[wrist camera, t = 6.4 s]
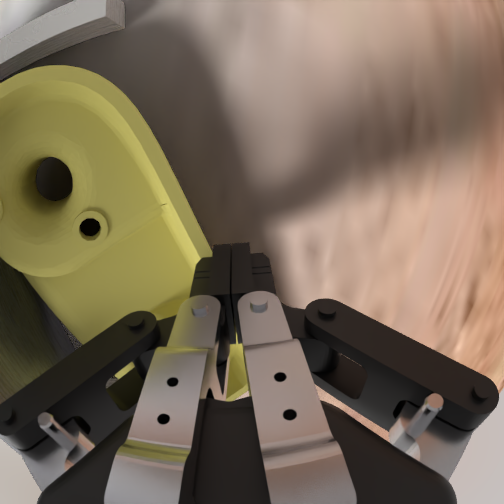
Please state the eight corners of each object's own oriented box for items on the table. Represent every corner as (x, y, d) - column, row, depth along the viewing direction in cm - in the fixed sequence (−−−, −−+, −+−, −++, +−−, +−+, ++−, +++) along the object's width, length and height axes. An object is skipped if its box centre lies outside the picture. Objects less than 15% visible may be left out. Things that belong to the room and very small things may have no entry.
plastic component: (275, 370, 17) (149, 451, 15) (224, 313, 23) (124, 379, 20) (109, 22, 7) (-95, 177, 4) (101, 69, 13) (-34, 162, 10)
